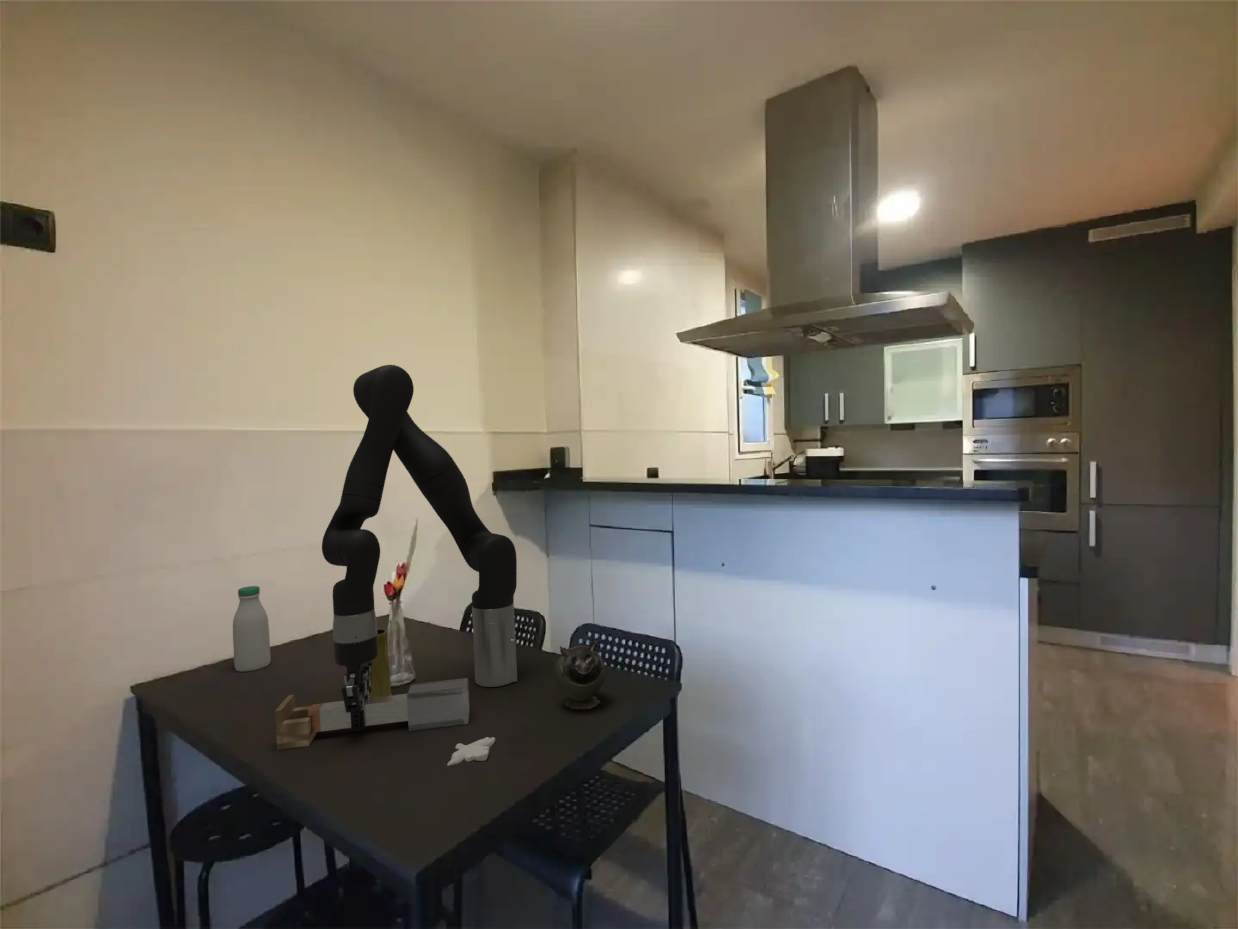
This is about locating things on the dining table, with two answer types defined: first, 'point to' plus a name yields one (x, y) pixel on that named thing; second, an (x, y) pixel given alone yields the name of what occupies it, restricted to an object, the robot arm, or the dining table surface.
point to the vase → (381, 668)
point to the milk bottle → (250, 632)
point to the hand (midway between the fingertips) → (360, 725)
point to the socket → (292, 725)
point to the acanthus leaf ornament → (472, 751)
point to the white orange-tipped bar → (374, 713)
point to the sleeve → (438, 704)
